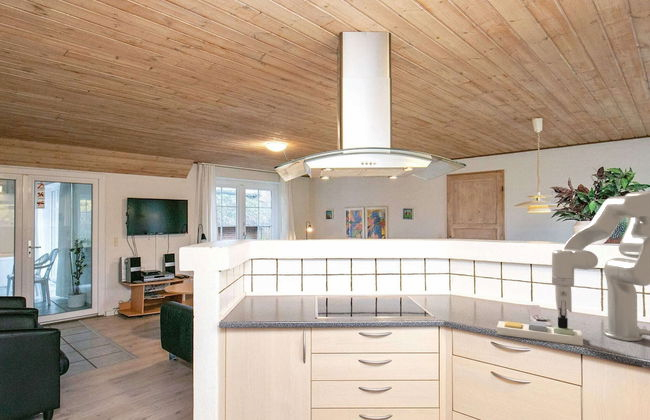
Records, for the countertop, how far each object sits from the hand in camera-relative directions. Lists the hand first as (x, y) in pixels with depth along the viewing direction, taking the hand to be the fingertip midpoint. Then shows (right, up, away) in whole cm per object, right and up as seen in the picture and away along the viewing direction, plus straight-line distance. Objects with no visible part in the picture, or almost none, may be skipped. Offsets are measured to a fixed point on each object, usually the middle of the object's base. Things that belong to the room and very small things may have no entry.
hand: (562, 327), depth 154 cm
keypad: (-7, -5, +4) cm, 10 cm away
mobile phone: (+3, -5, +22) cm, 23 cm away
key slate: (-7, -2, +4) cm, 9 cm away
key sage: (0, -3, 0) cm, 3 cm away
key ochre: (-15, -4, +9) cm, 18 cm away
